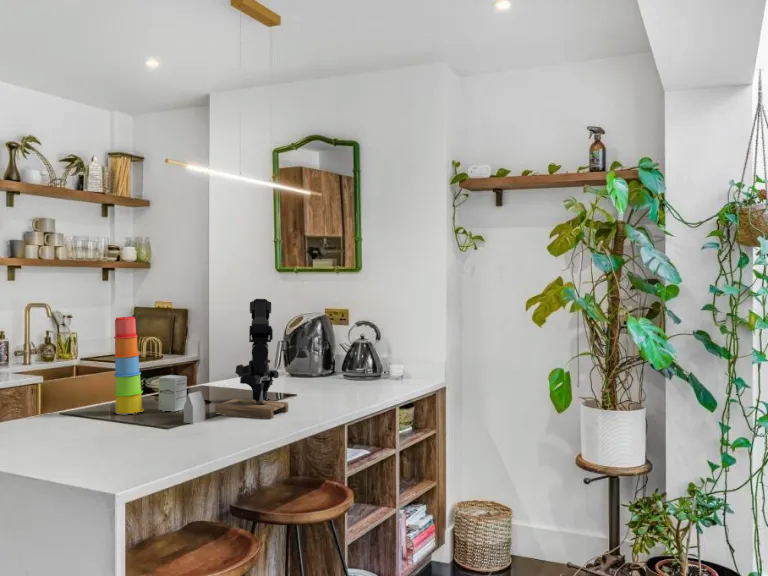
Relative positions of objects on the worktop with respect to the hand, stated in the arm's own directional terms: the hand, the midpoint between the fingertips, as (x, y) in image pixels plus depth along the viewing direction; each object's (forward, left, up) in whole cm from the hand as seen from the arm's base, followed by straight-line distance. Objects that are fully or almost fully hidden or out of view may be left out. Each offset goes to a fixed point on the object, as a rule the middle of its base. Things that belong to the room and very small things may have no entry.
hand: (259, 400), depth 247 cm
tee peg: (0, 0, -5) cm, 5 cm away
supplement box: (+5, -33, -5) cm, 34 cm away
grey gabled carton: (+20, -14, -5) cm, 25 cm away
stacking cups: (+14, -45, -5) cm, 47 cm away
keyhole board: (0, -3, -5) cm, 6 cm away
